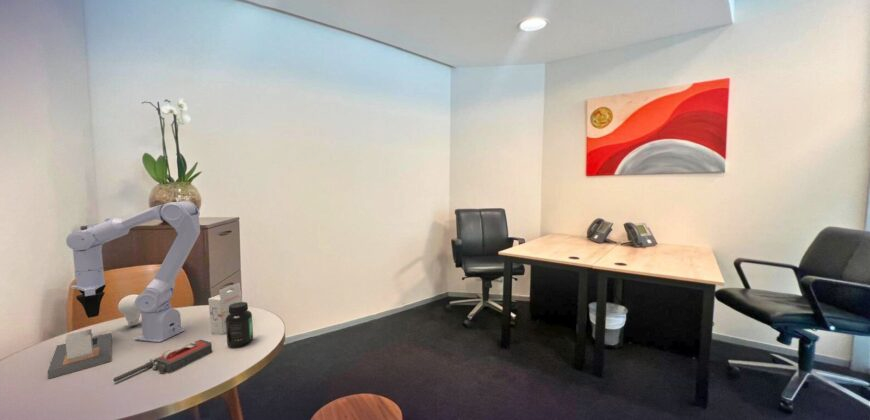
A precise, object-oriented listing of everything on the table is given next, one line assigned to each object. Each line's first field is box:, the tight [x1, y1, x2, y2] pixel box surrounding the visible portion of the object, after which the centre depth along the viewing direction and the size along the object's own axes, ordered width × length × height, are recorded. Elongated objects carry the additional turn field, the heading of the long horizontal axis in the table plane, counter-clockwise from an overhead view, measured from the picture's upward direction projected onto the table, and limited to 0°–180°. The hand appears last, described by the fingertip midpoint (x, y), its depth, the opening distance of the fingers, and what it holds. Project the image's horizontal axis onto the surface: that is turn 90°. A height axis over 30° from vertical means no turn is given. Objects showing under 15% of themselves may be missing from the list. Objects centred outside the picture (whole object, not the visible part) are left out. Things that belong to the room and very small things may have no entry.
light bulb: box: [117, 294, 141, 328], centre depth 108 cm, size 7×7×11 cm
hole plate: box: [47, 332, 113, 380], centre depth 89 cm, size 18×11×2 cm, turn 45°
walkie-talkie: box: [113, 339, 213, 383], centre depth 85 cm, size 9×4×20 cm
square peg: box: [65, 328, 93, 362], centre depth 86 cm, size 4×4×6 cm
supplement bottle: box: [225, 301, 254, 349], centre depth 96 cm, size 7×7×12 cm
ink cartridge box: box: [207, 282, 243, 335], centre depth 106 cm, size 9×5×15 cm, turn 168°
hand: (93, 312), depth 96 cm, fingers open, 7 cm apart
